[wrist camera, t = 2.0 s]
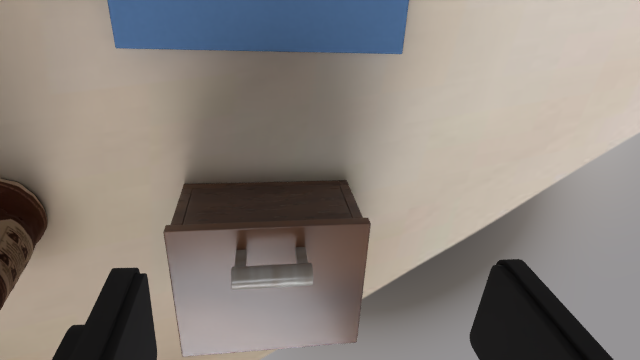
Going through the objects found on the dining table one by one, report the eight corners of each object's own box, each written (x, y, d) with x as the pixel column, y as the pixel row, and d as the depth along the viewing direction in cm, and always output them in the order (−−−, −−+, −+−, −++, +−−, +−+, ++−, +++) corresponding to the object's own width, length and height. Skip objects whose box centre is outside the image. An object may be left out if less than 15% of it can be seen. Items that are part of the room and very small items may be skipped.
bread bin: (183, 183, 34) (167, 234, 28) (346, 179, 36) (366, 226, 30) (195, 284, 39) (183, 348, 32) (338, 276, 41) (354, 334, 34)
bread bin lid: (165, 224, 27) (152, 263, 24) (368, 217, 29) (383, 251, 26) (183, 348, 32) (174, 395, 29) (354, 335, 34) (366, 377, 31)
